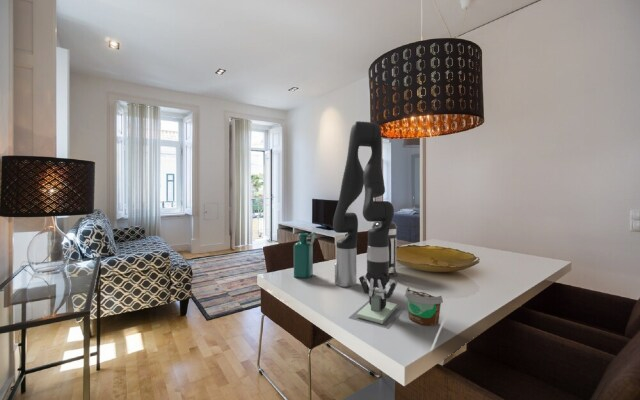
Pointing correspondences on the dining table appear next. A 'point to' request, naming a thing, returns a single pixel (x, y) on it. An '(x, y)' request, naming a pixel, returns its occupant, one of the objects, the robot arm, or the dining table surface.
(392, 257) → the coffee press
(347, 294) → the dining table surface
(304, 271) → the green bottle
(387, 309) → the lid
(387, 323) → the mat
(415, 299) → the food container
